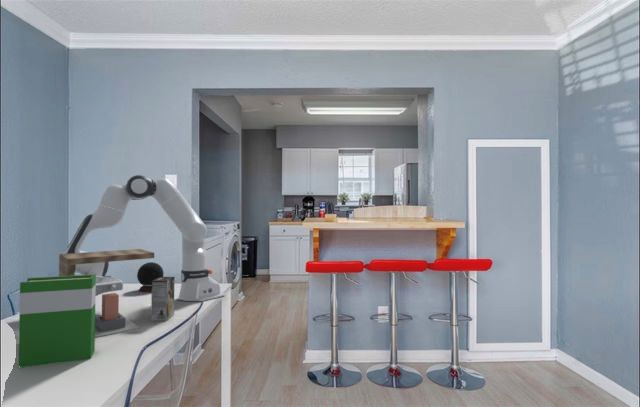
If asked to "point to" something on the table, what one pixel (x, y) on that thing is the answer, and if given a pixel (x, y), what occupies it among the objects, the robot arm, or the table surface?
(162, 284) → the coffee box
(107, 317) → the peg
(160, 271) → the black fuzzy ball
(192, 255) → the robot arm
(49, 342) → the hardback book
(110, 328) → the socket
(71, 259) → the l-shaped wooden plank
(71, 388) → the table surface
